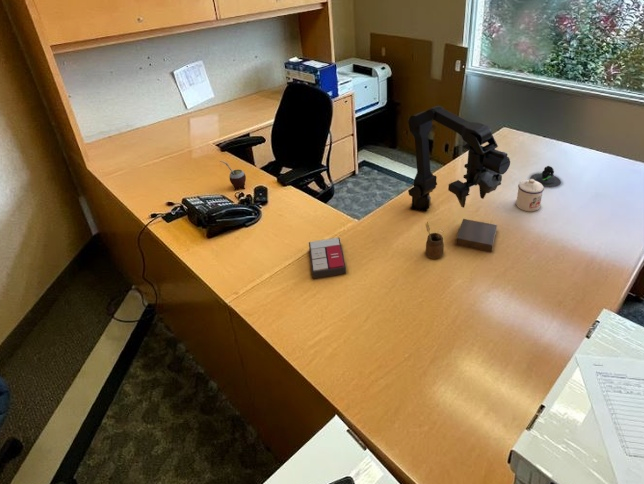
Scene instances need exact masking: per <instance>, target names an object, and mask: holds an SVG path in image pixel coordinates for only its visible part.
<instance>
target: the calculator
mask: <svg viewBox="0 0 644 484" xmlns="http://www.w3.org/2000/svg"><path fill="white" fill-rule="evenodd" d="M308 248H309V258H310V265H311V274H312V279H314V280H316V279H322V278H328V277H333V276H341V275H346V274H347V266H346V262H345V257H344V252H343V249H342V248H343V247H342V243H341V238H340V237H334V238H326V239H321V240H313V241H309V242H308Z"/></svg>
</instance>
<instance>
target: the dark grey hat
mask: <svg viewBox="0 0 644 484" xmlns="http://www.w3.org/2000/svg"><path fill="white" fill-rule="evenodd" d="M554 173H555V170H554V168H553V167H552V166H551V165H547V166H545V167H544V168H543V170H542V172H540V173H539V172H538V173H534V174H532V175H531V176H530V177H529V180H530V179H534V180H535V181H537V182H539V183H541V184H542V185H543V187H544V188H557V187H559V186H560V185H561V184H562V181H561V179H560V178H559V177H558V176H556V175H555V174H554Z"/></svg>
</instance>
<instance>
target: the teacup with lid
mask: <svg viewBox="0 0 644 484" xmlns="http://www.w3.org/2000/svg"><path fill="white" fill-rule="evenodd" d="M544 191H545V187H543V185H542V184H541V183H539V182H537V181H535V180H534V179H530V178H529V179H523V180H521V181H519V183H518V185H517V195H516V200H515V205H516V207H517V208H518V209H520V210H523V211H525V212H535V211H538V210H539V209H540V207H541V204H542V203H541V202H542V198H543V192H544Z"/></svg>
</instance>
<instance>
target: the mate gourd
mask: <svg viewBox="0 0 644 484" xmlns="http://www.w3.org/2000/svg"><path fill="white" fill-rule="evenodd" d="M219 162H221V163H223V164H225V165H226V167H227V168H228V169H229V170H230V173H229V177H228V178H229V182H230V183H231V185H232V187H233V190H234V191H238V190H239V189H241V190H245V189H246V187H245V185H246V180H247V177H246V176H247V175H246V174H245V172H244V170H242V169H235V170H234V169H232V168H231V167H230V164H229V163H227V162H226V161H224V160H219Z"/></svg>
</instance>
